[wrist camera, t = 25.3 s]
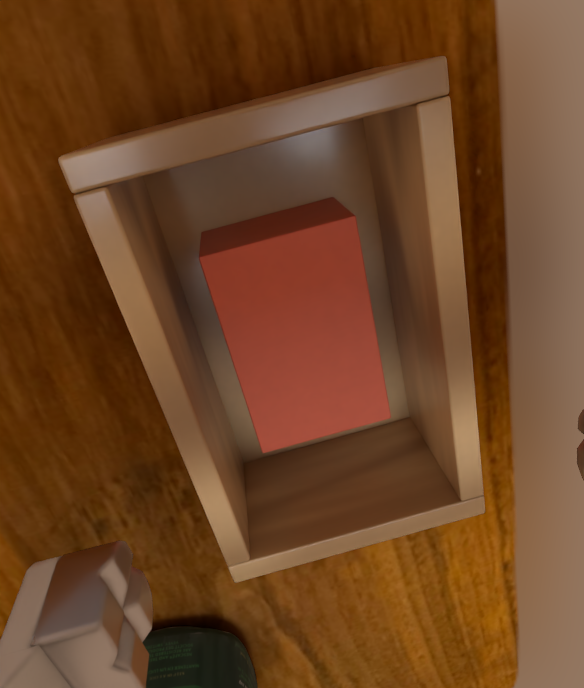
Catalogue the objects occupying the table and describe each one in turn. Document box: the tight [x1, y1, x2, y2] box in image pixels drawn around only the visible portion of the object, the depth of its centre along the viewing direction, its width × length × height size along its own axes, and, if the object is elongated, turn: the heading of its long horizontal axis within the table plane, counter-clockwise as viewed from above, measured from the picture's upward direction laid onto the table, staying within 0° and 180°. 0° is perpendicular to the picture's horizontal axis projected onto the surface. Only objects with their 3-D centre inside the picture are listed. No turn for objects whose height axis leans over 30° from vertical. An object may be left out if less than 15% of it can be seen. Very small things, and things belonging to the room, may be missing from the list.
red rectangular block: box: [199, 197, 391, 453], centre depth 17 cm, size 7×4×3 cm, turn 13°
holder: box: [58, 56, 485, 583], centre depth 16 cm, size 14×9×6 cm, turn 13°
